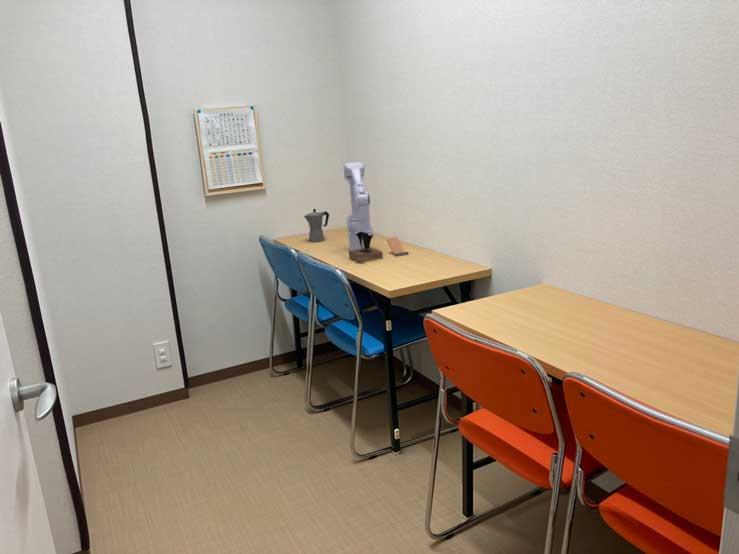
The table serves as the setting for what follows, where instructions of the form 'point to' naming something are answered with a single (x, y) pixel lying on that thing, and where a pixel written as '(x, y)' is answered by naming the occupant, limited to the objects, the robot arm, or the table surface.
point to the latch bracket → (401, 254)
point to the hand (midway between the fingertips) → (365, 248)
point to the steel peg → (363, 247)
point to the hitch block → (365, 255)
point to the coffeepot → (316, 225)
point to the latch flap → (395, 245)
